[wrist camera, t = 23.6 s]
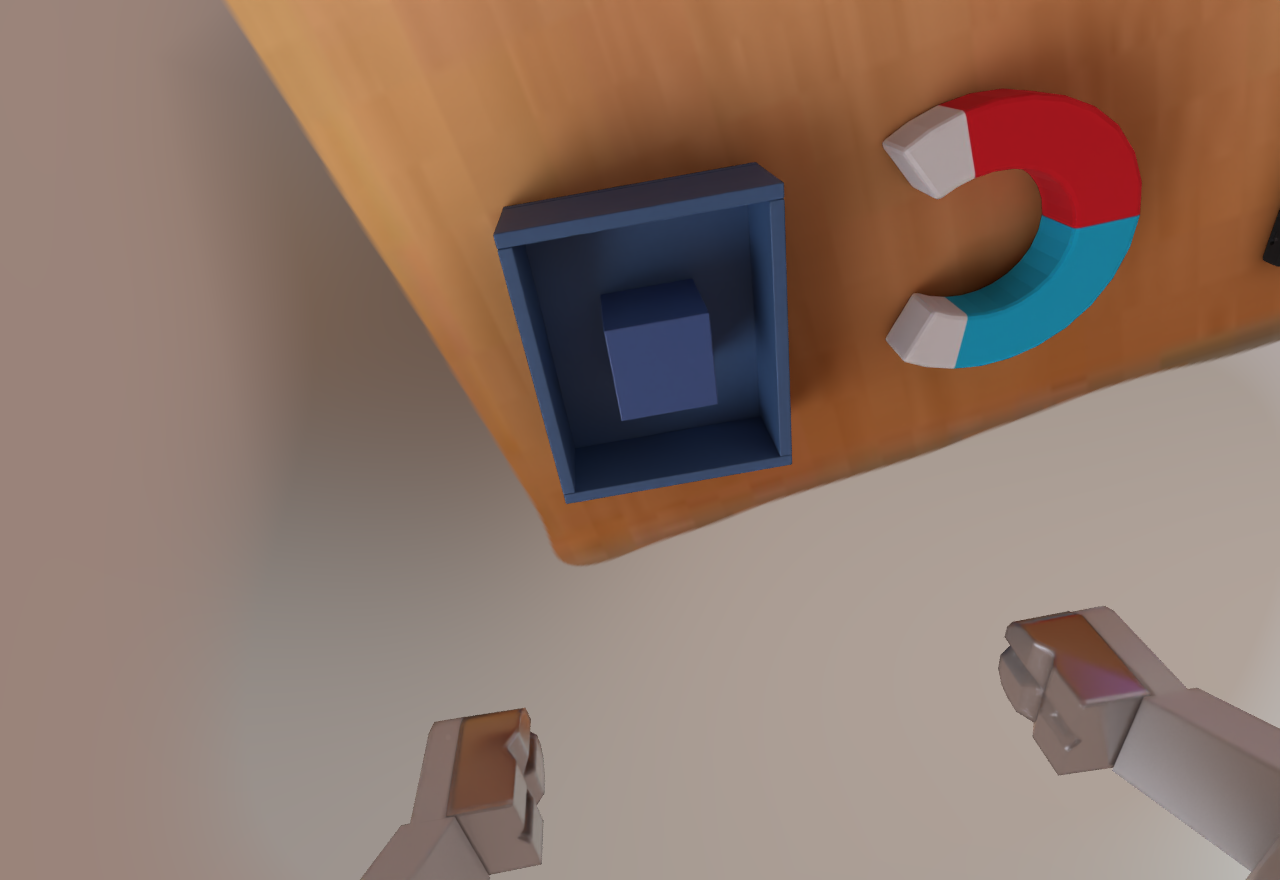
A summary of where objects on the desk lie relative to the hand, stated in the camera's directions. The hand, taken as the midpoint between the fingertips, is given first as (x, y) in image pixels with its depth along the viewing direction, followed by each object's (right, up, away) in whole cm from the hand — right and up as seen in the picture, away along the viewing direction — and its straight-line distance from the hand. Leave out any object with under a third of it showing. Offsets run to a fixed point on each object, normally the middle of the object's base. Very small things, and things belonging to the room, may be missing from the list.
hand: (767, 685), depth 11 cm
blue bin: (-2, +10, +21) cm, 23 cm away
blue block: (-2, +10, +21) cm, 23 cm away
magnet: (+19, +15, +18) cm, 30 cm away
